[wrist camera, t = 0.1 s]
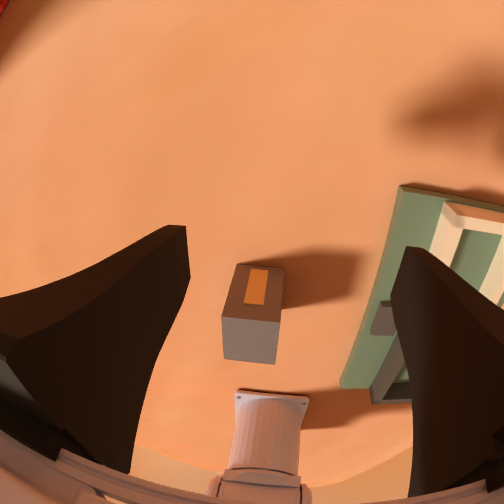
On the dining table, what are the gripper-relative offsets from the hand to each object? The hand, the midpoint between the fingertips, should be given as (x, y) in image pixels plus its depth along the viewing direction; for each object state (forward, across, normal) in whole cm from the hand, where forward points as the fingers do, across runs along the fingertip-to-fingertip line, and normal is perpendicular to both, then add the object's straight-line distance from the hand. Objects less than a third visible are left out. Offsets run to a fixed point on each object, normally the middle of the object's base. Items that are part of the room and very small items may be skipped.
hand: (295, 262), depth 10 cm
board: (+10, -13, +10) cm, 19 cm away
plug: (+10, +2, +9) cm, 14 cm away
